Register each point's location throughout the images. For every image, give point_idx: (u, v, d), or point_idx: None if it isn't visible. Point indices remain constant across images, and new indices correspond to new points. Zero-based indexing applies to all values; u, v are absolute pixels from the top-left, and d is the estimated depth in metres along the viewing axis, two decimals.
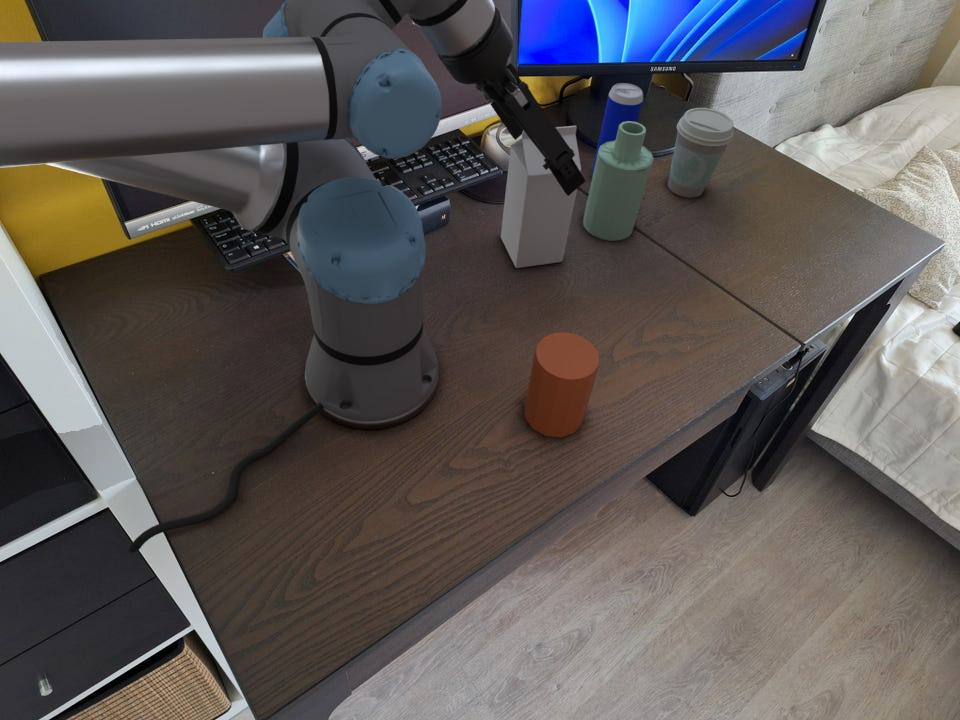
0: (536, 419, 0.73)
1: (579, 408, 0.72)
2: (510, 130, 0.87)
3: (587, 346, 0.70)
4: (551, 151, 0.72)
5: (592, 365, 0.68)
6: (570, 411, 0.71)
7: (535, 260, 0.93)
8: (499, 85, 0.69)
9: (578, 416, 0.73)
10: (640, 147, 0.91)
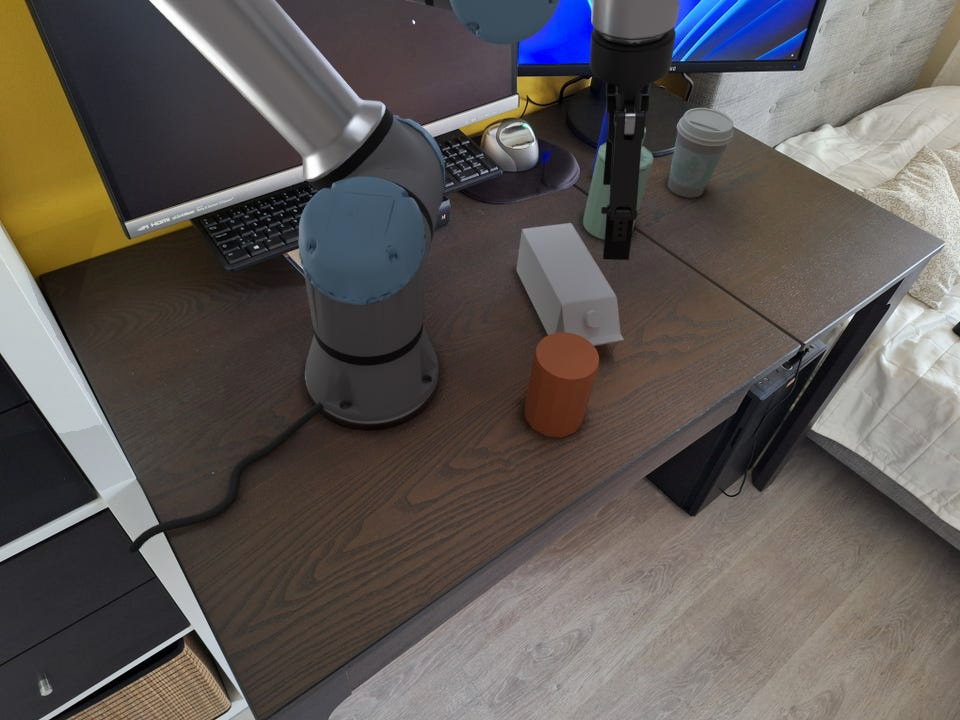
0: (536, 419, 0.73)
1: (579, 408, 0.72)
2: (605, 172, 0.79)
3: (587, 346, 0.70)
4: (618, 197, 0.63)
5: (592, 365, 0.68)
6: (570, 411, 0.71)
7: None
8: (622, 100, 0.61)
9: (578, 416, 0.73)
10: None
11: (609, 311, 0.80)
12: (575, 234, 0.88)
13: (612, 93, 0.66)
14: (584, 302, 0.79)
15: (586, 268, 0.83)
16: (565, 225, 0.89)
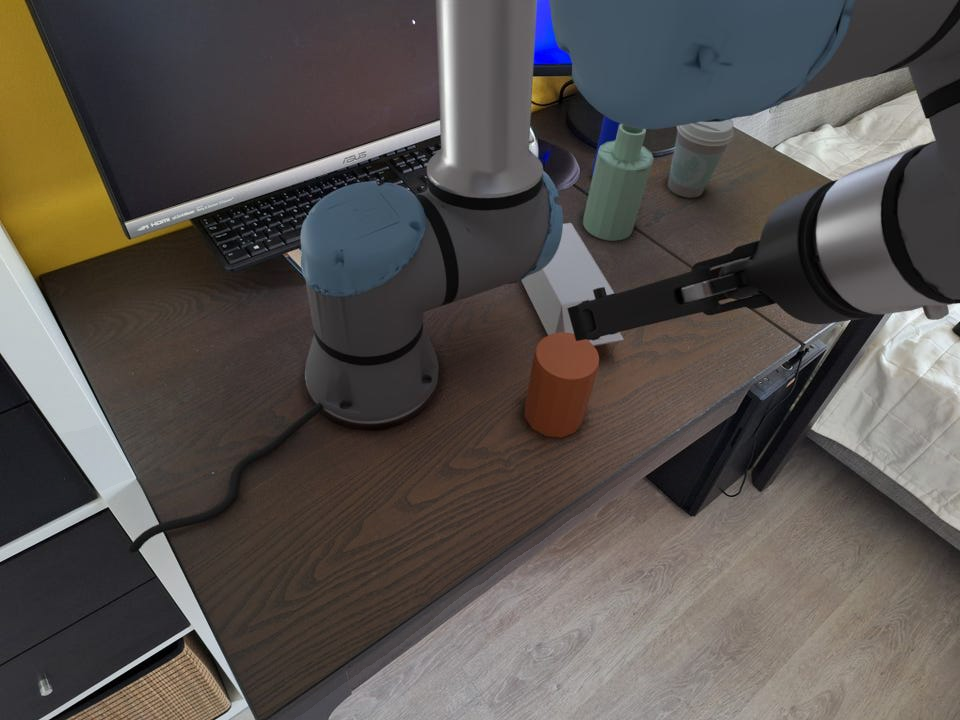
0: (536, 419, 0.73)
1: (579, 408, 0.72)
2: (721, 269, 0.55)
3: (587, 346, 0.70)
4: (602, 307, 0.43)
5: (592, 365, 0.68)
6: (570, 411, 0.71)
7: None
8: (738, 267, 0.38)
9: (578, 416, 0.73)
10: (640, 147, 0.91)
11: None
12: (575, 234, 0.88)
13: None
14: None
15: (586, 268, 0.83)
16: (565, 225, 0.89)
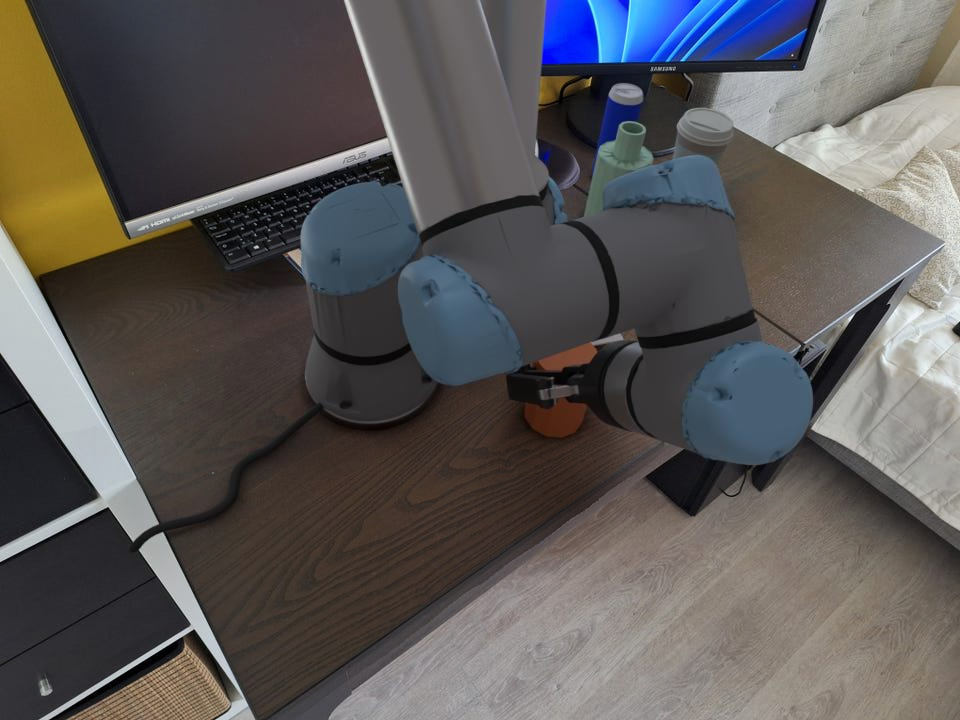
0: (536, 419, 0.73)
1: (579, 408, 0.71)
2: None
3: (587, 346, 0.70)
4: (513, 382, 0.65)
5: None
6: (570, 411, 0.71)
7: None
8: (574, 382, 0.58)
9: (578, 416, 0.73)
10: (640, 147, 0.91)
11: None
12: None
13: None
14: None
15: None
16: None
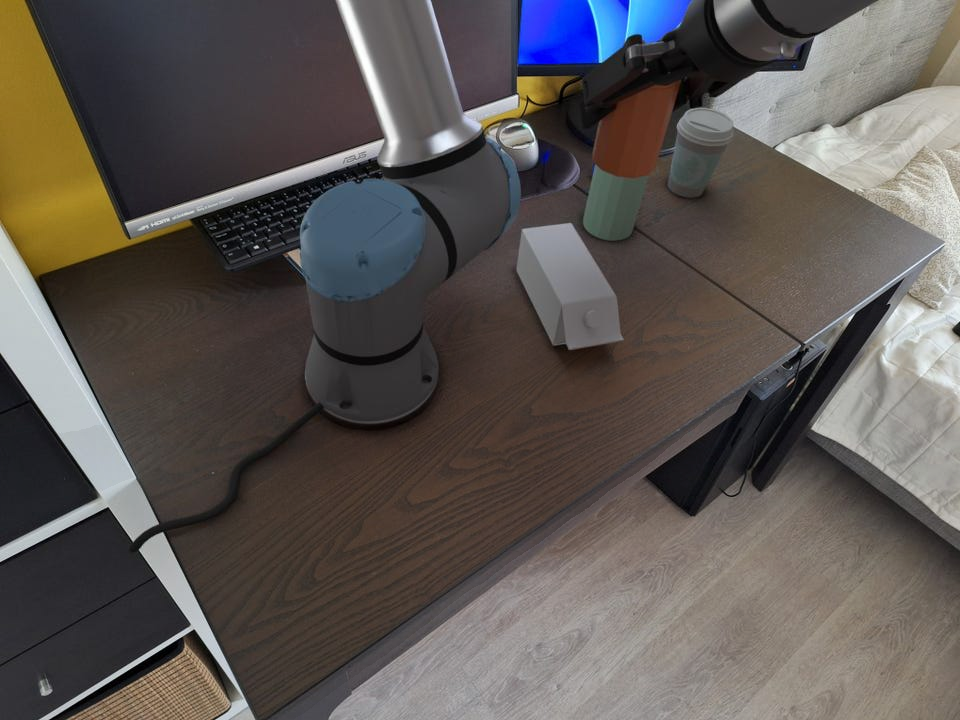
0: (608, 154, 0.68)
1: (657, 135, 0.66)
2: None
3: None
4: (592, 78, 0.60)
5: None
6: (648, 135, 0.65)
7: None
8: (670, 34, 0.52)
9: (654, 148, 0.67)
10: None
11: (609, 311, 0.80)
12: (575, 234, 0.88)
13: None
14: (584, 302, 0.79)
15: (586, 268, 0.83)
16: (565, 225, 0.89)
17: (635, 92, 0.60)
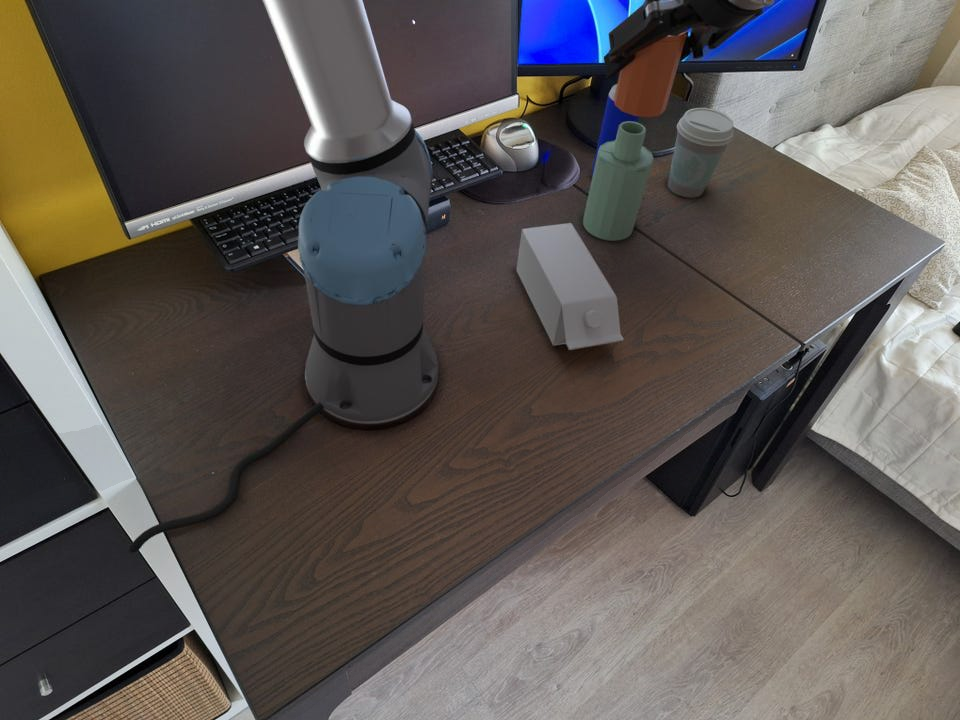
0: (627, 98, 0.84)
1: (667, 80, 0.82)
2: None
3: None
4: (617, 32, 0.76)
5: None
6: (660, 80, 0.82)
7: None
8: None
9: (665, 92, 0.83)
10: (640, 147, 0.91)
11: (609, 311, 0.80)
12: (575, 234, 0.88)
13: None
14: (584, 302, 0.79)
15: (586, 268, 0.83)
16: (565, 225, 0.89)
17: (651, 43, 0.76)
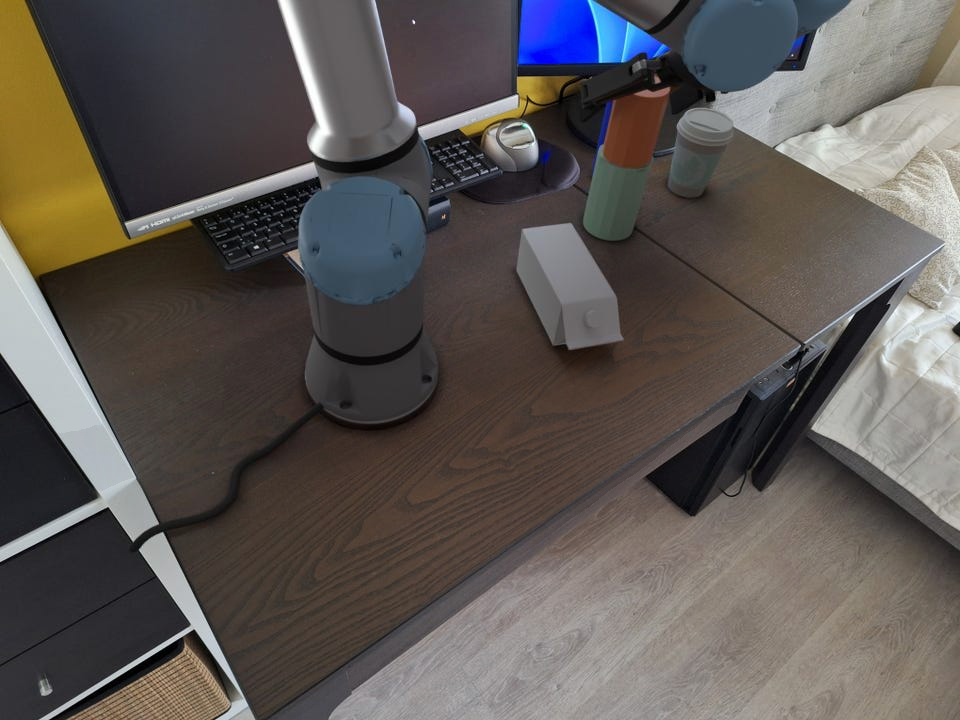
0: (615, 150, 0.90)
1: (652, 135, 0.88)
2: (676, 91, 0.90)
3: (659, 81, 0.86)
4: (592, 82, 0.79)
5: (665, 91, 0.85)
6: (645, 136, 0.87)
7: None
8: (663, 56, 0.73)
9: (650, 145, 0.89)
10: None
11: (609, 311, 0.80)
12: (575, 234, 0.88)
13: None
14: (584, 302, 0.79)
15: (586, 268, 0.83)
16: (565, 225, 0.89)
17: (626, 95, 0.80)
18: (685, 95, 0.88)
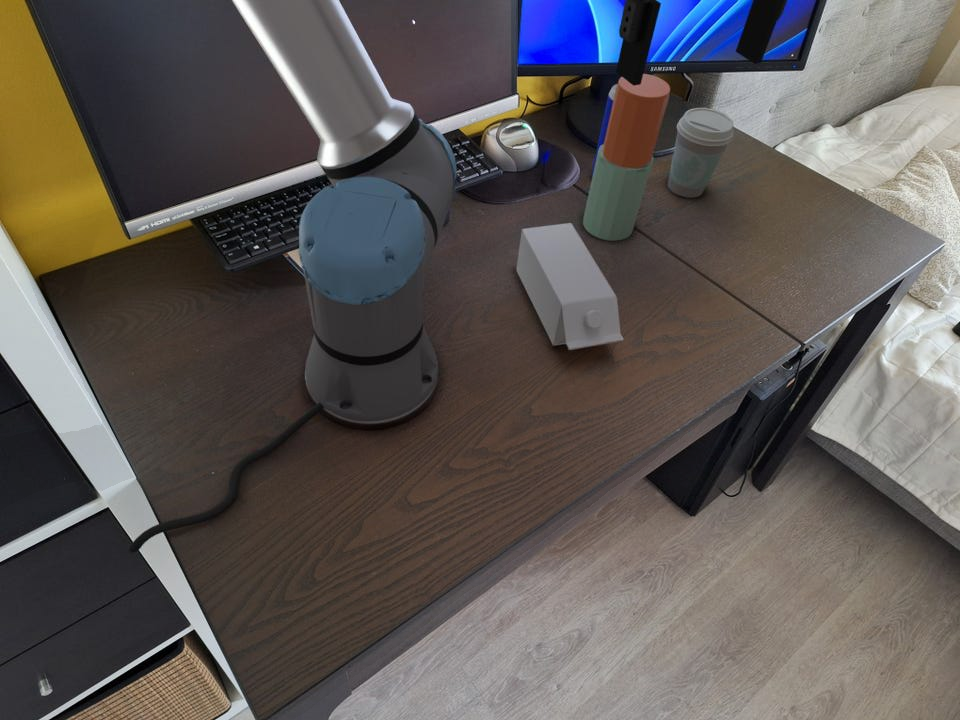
0: (615, 150, 0.90)
1: (652, 135, 0.88)
2: (743, 32, 0.61)
3: (659, 81, 0.86)
4: None
5: (665, 91, 0.85)
6: (645, 136, 0.87)
7: None
8: None
9: (650, 145, 0.89)
10: None
11: (609, 311, 0.80)
12: (575, 234, 0.88)
13: None
14: (584, 302, 0.79)
15: (586, 268, 0.83)
16: (565, 225, 0.89)
17: None
18: (759, 15, 0.59)
